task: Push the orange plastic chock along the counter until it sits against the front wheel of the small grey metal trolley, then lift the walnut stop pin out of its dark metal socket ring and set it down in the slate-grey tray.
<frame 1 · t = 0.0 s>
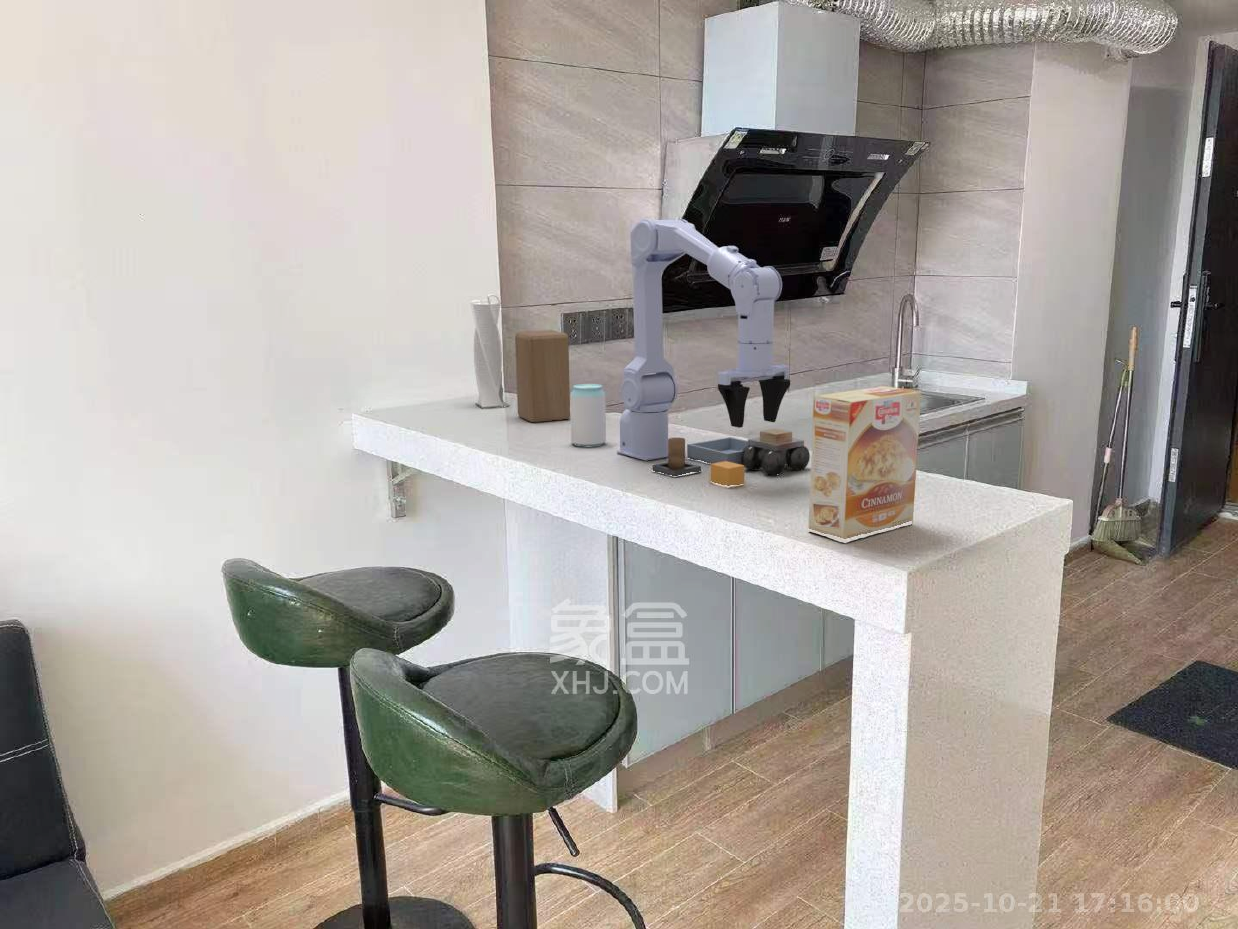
hand: (753, 424, 162), 10 cm above the countertop, tool pointing down, fingers open, 7 cm apart
skyscraper: (491, 407, 244), on the countertop
coffeecake box: (861, 530, 138), on the countertop
chock: (727, 485, 164), on the countertop
pin: (676, 455, 172), in the socket ring
trolley: (775, 469, 174), on the countertop
socket ring: (676, 472, 172), on the countertop
tray: (728, 459, 182), on the countertop
can: (588, 445, 197), on the countertop
block: (543, 419, 227), on the countertop
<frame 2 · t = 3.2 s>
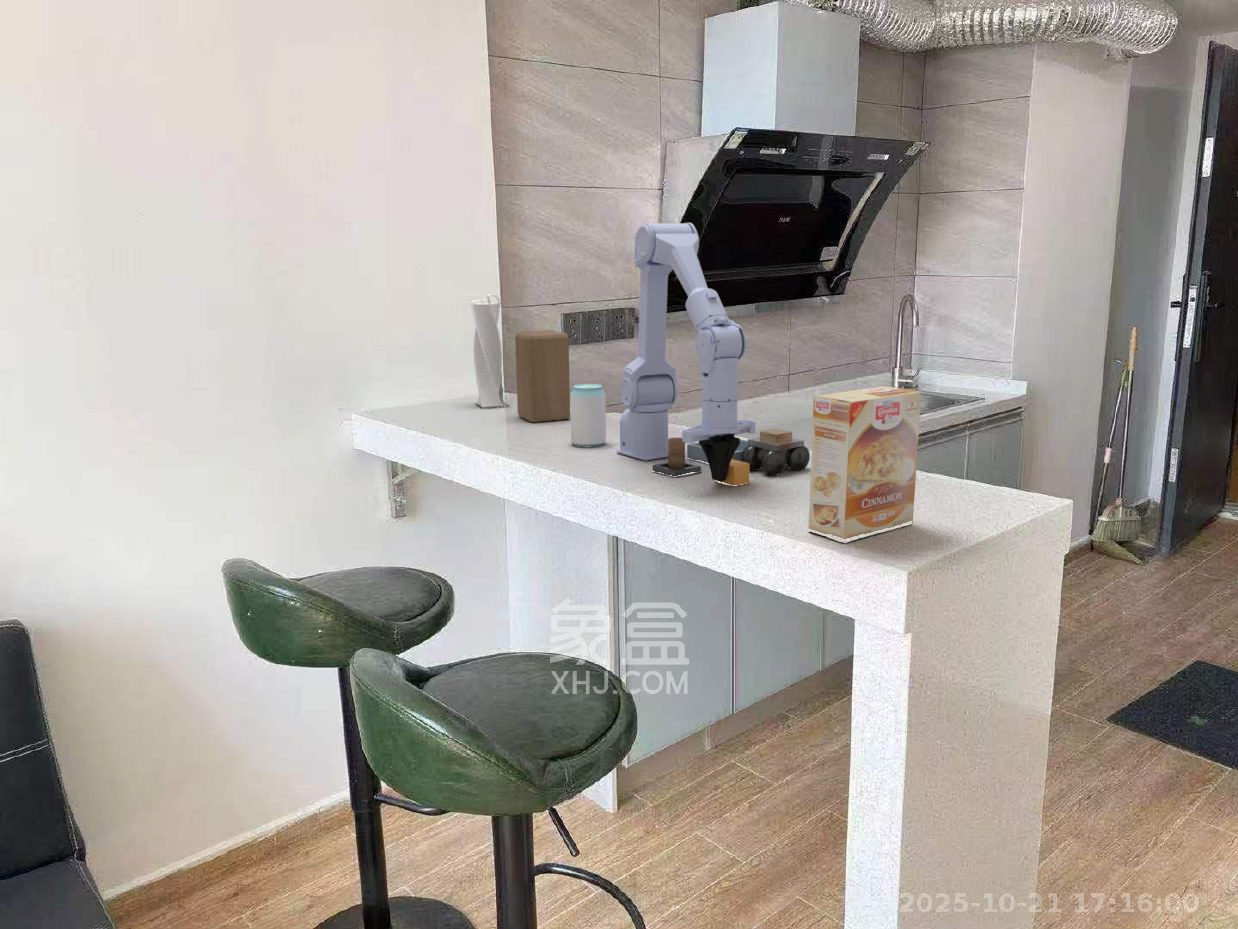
hand: (718, 479, 162), 1 cm above the countertop, tool pointing down, fingers closed
chock: (732, 483, 164), on the countertop, touching gripper
everything else where it was.
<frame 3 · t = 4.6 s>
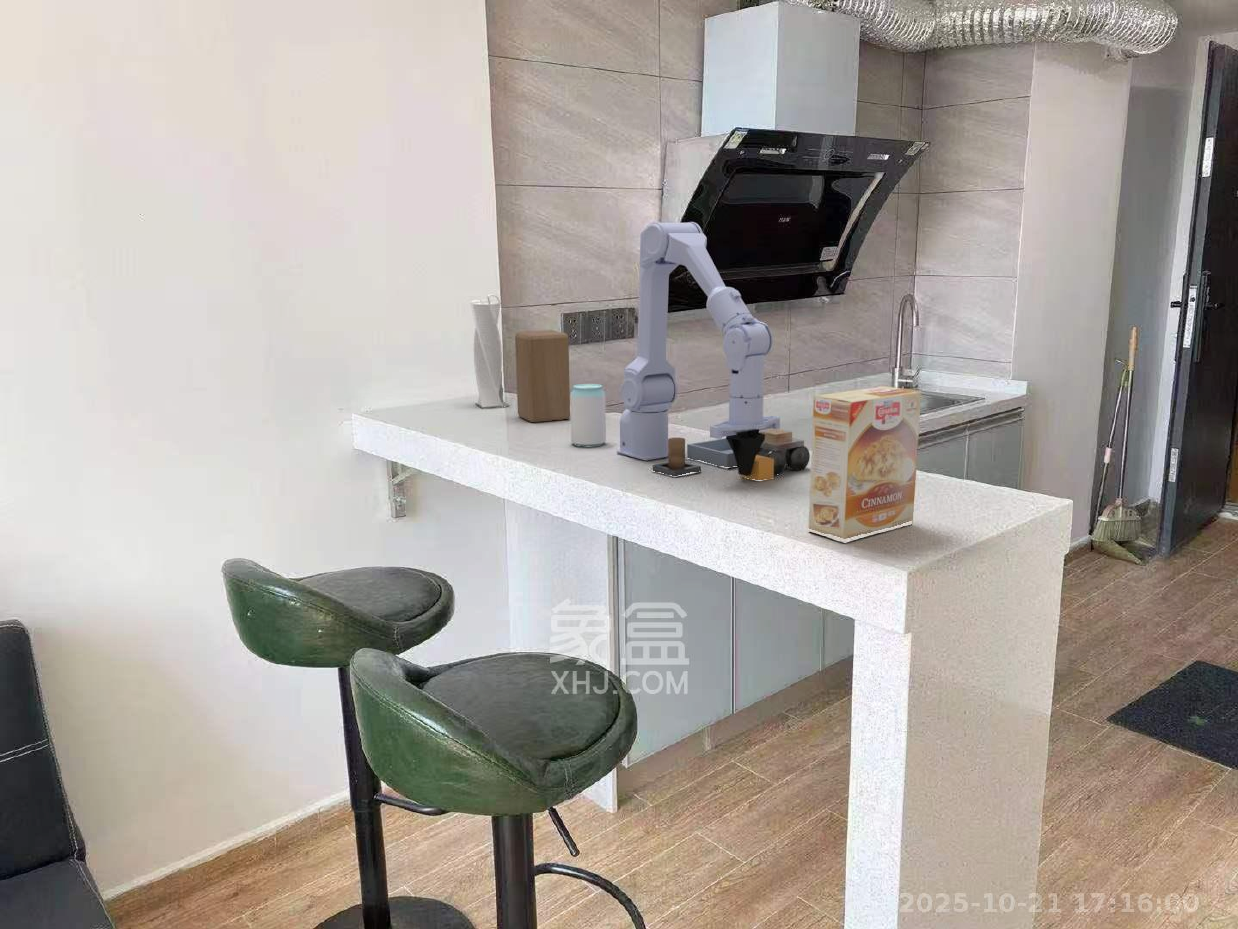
hand: (744, 474, 166), 1 cm above the countertop, tool pointing down, fingers closed
chock: (756, 477, 168), on the countertop, touching gripper, trolley
everything else where it was.
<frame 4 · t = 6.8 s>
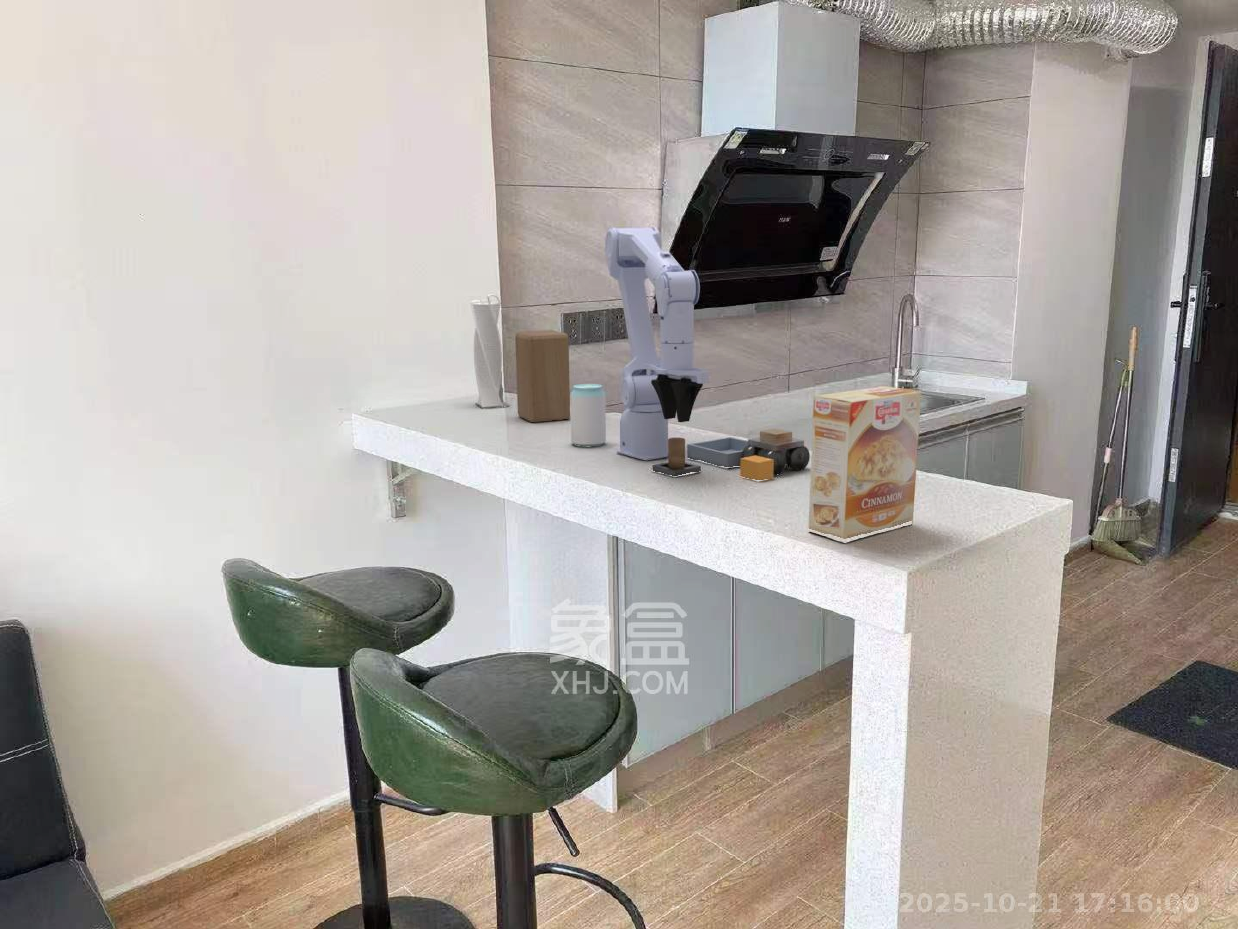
hand: (676, 420, 170), 9 cm above the countertop, tool pointing down, fingers open, 3 cm apart
chock: (756, 478, 168), on the countertop
everything else where it was.
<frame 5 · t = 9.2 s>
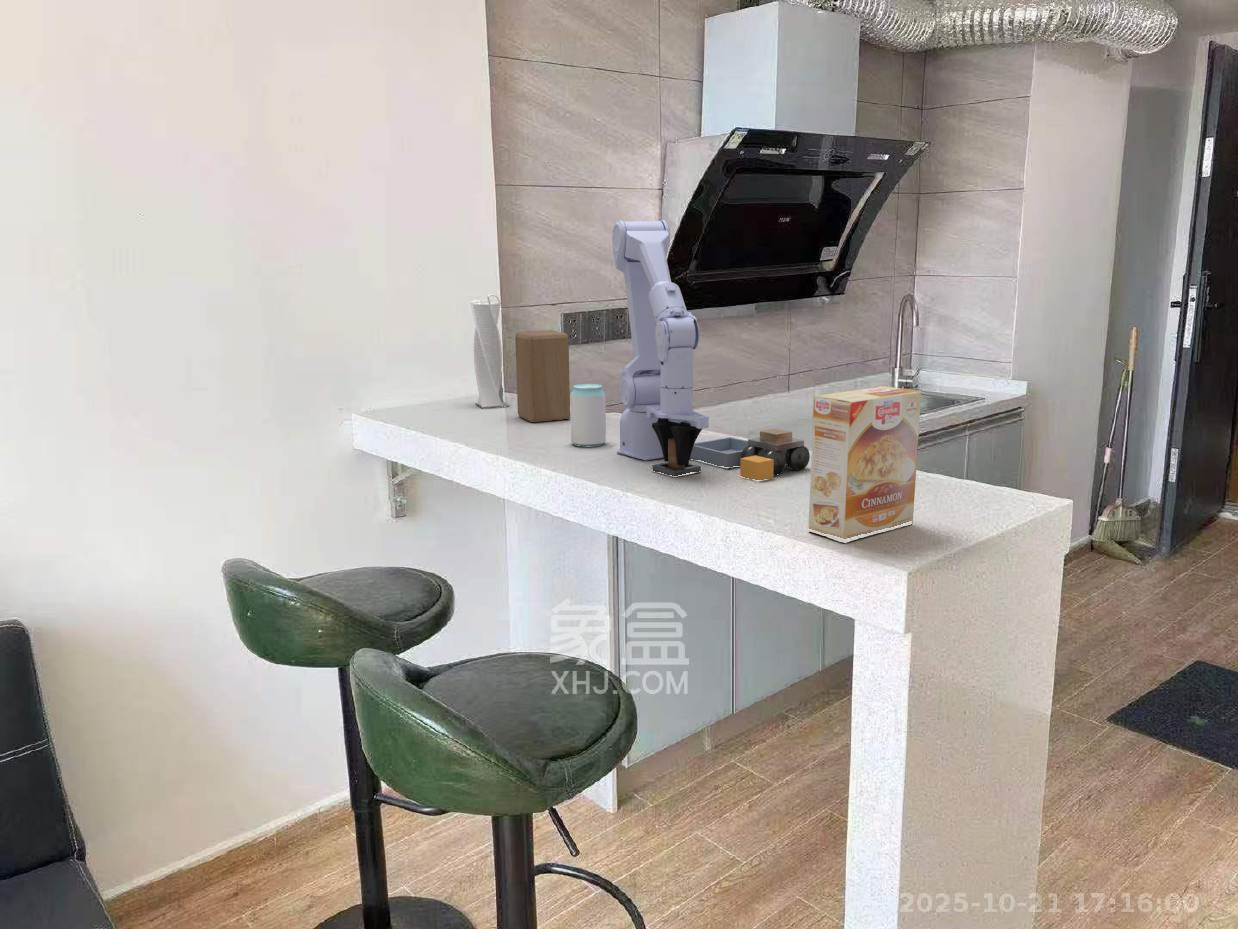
hand: (676, 462, 172), 2 cm above the countertop, tool pointing down, fingers closed on pin, 3 cm apart
pin: (676, 455, 172), in the socket ring, touching gripper
everything else where it was.
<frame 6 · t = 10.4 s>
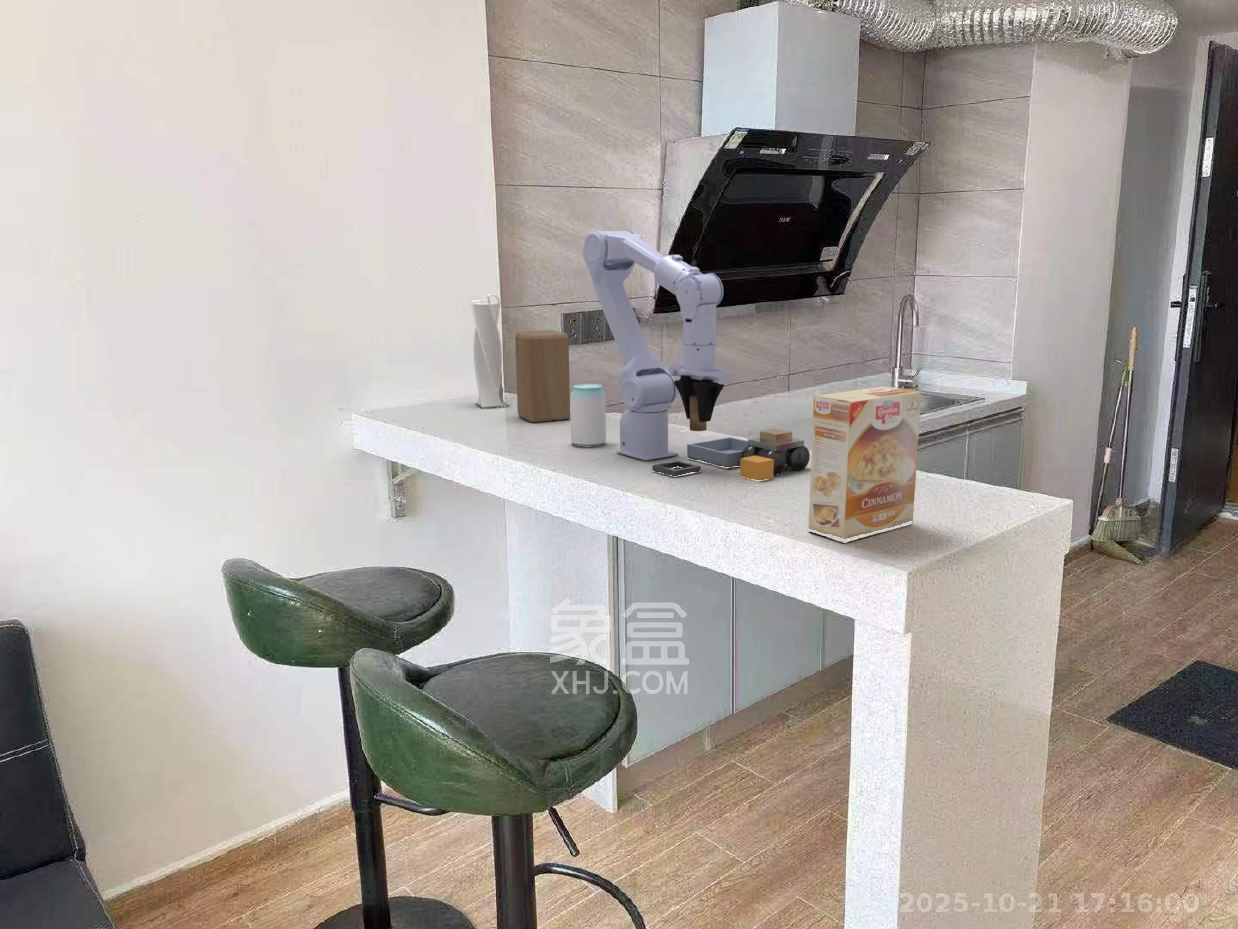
hand: (698, 419, 174), 9 cm above the countertop, tool pointing down, fingers closed on pin, 3 cm apart
pin: (698, 413, 174), point 10 cm above the countertop, touching gripper
everything else where it was.
when the fingers open (4 cm above the countertop, at t = 12.1 s): pin drops 1 cm, resting on tray.
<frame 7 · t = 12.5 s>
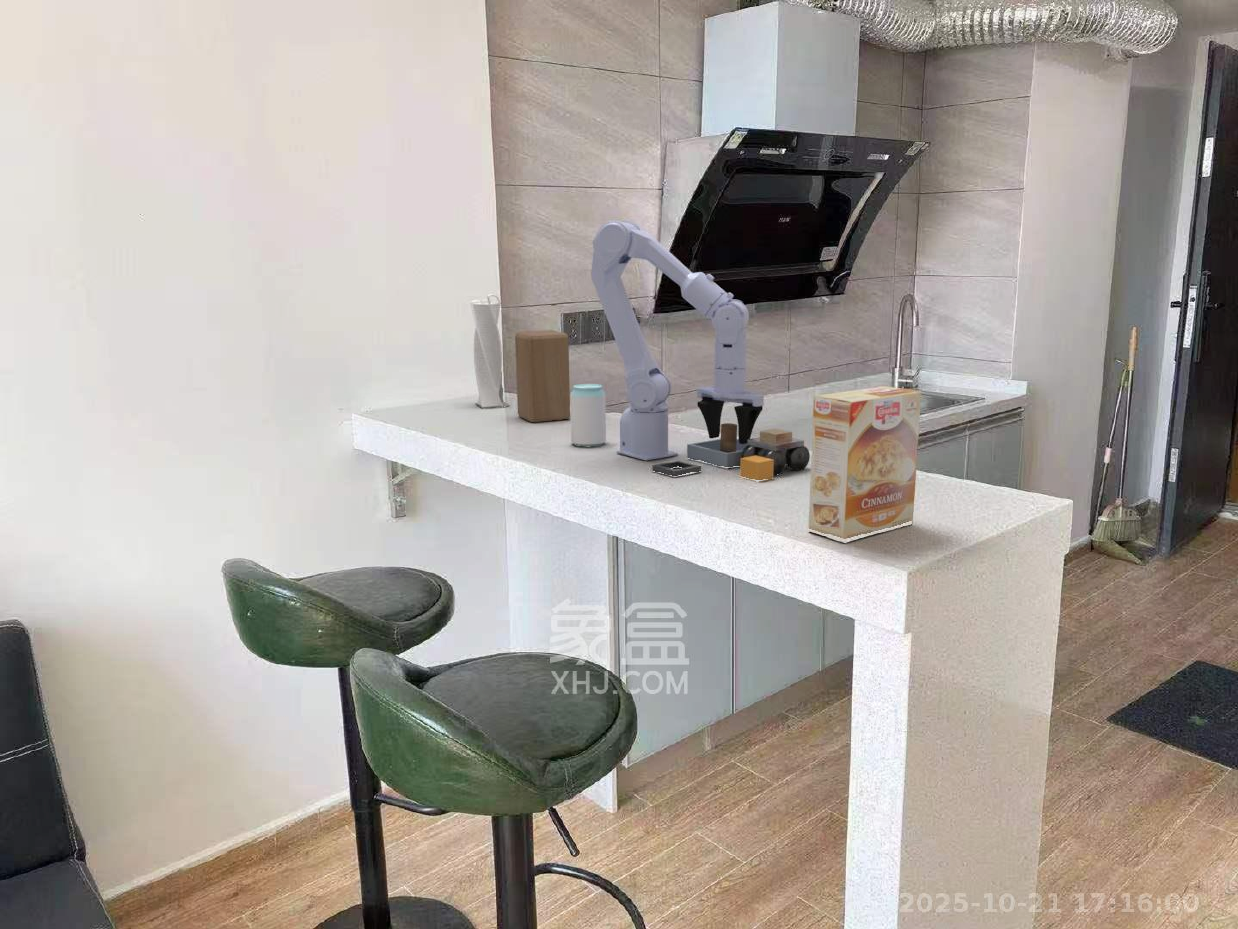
hand: (728, 440, 181), 4 cm above the countertop, tool pointing down, fingers open, 7 cm apart
pin: (728, 440, 181), in the tray, point 4 cm above the countertop
everything else where it was.
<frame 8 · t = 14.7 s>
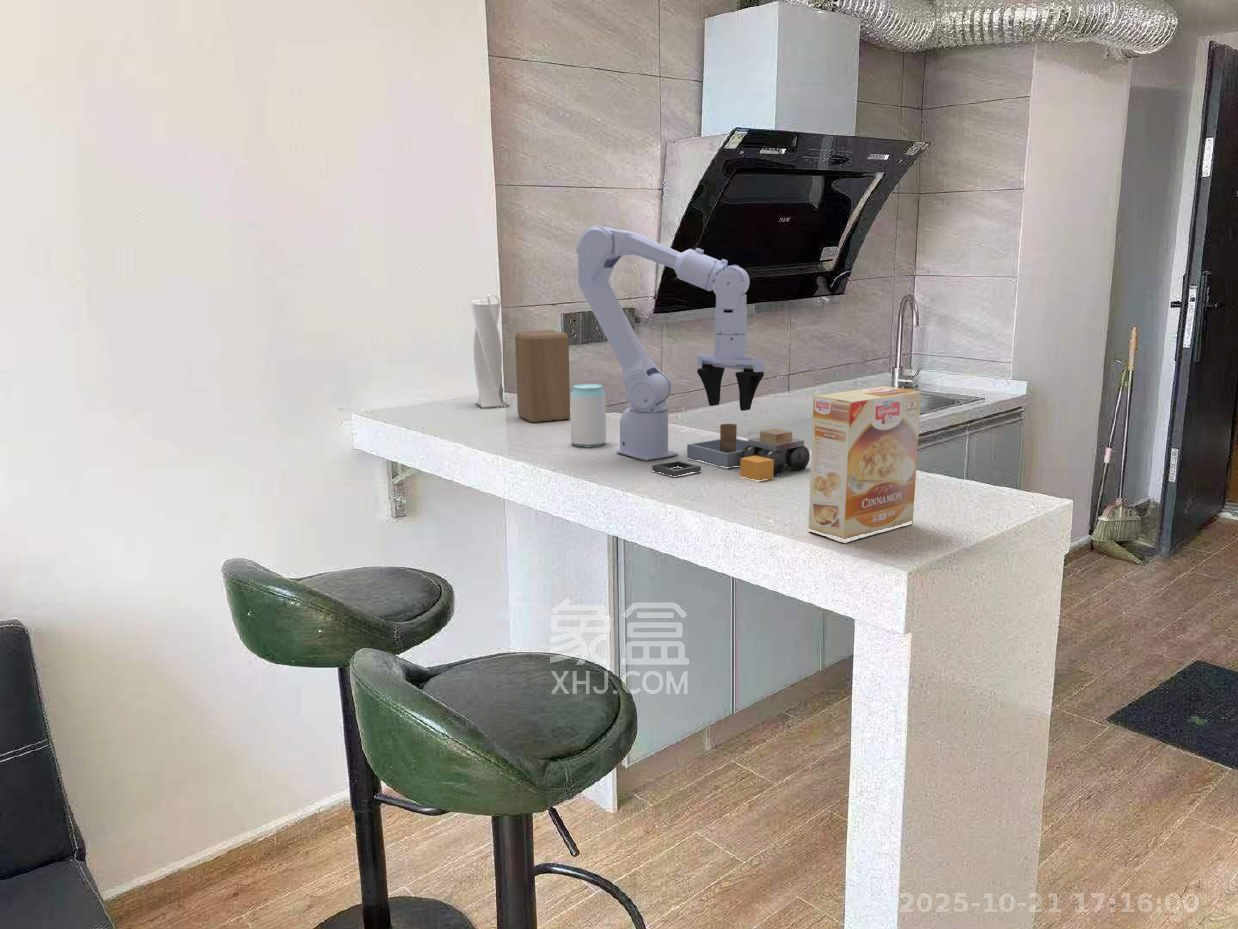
hand: (729, 407, 180), 10 cm above the countertop, tool pointing down, fingers open, 7 cm apart
nothing on the countertop moved.
at the end: chock 0.2 cm from the target spot, on the countertop; pin inside the target area on the tray (0.2 cm from its centre), point 3.6 cm above the tray's base; the gripper is holding nothing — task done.
